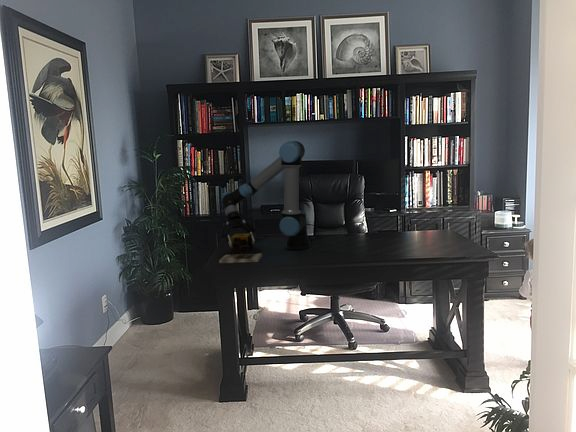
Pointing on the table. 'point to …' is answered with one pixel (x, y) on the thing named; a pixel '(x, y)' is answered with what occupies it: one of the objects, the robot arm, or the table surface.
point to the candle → (242, 243)
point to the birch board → (240, 258)
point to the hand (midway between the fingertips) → (242, 244)
